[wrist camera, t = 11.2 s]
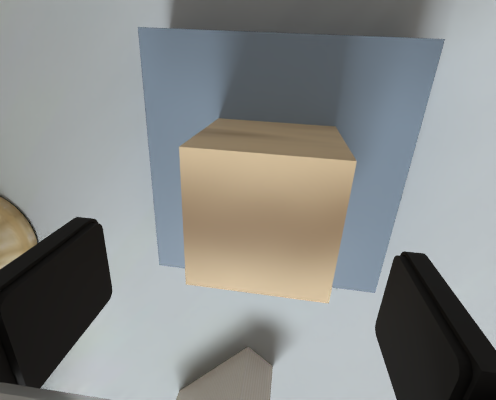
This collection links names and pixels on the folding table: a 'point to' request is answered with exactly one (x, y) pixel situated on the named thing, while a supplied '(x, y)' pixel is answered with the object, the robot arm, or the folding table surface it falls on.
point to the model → (233, 380)
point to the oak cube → (265, 207)
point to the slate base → (292, 117)
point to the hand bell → (13, 233)
